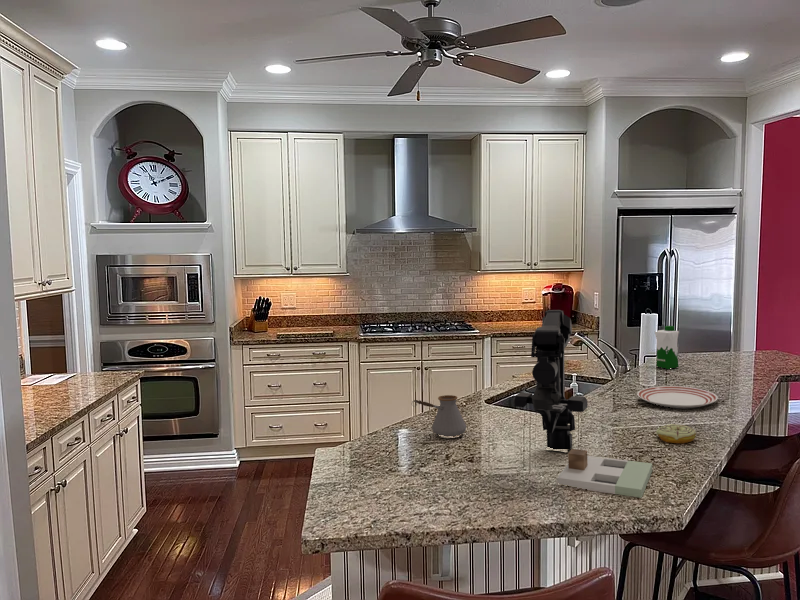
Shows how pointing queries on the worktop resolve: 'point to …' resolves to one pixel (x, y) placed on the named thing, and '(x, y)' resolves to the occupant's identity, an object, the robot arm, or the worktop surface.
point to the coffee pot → (447, 416)
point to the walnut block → (577, 459)
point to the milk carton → (667, 347)
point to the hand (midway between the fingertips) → (550, 433)
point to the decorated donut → (676, 433)
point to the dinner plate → (677, 396)
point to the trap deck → (609, 476)
